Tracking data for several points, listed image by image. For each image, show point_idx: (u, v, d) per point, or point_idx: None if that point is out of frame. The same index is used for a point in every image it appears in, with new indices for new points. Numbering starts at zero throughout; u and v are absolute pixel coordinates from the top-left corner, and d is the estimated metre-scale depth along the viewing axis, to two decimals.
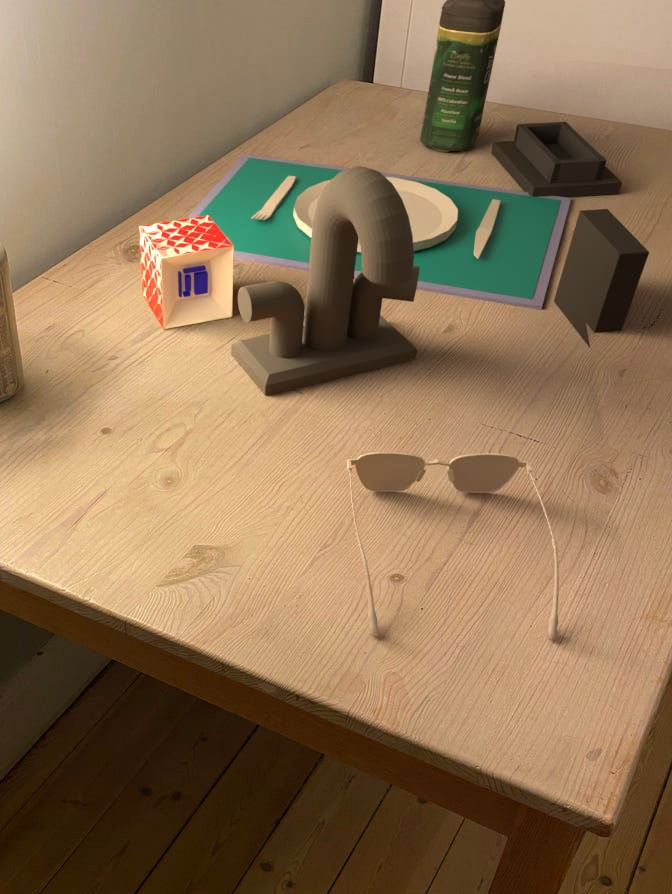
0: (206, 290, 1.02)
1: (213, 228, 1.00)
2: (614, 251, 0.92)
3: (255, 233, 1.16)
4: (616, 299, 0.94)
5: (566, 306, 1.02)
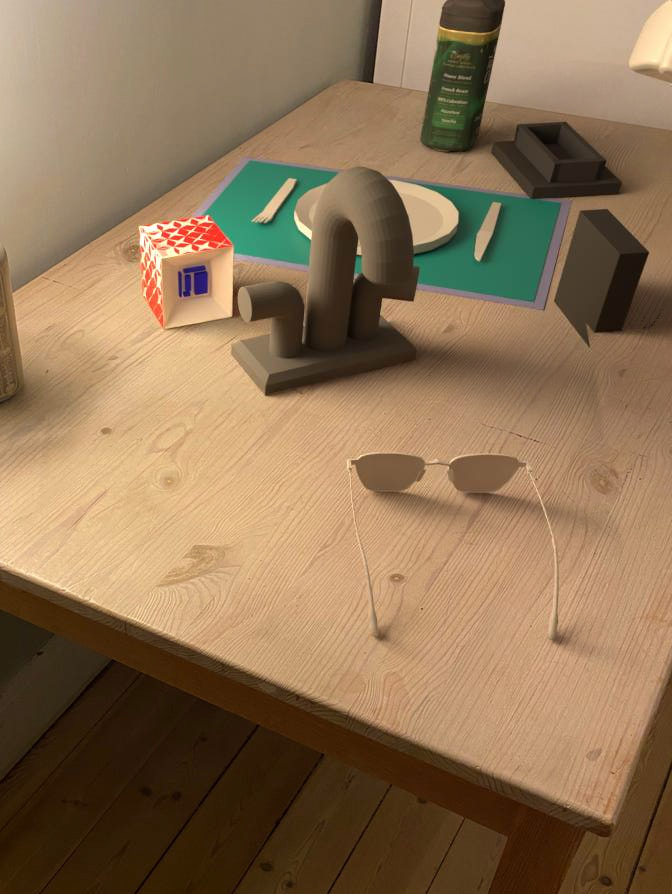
0: (206, 290, 1.02)
1: (213, 228, 1.00)
2: (614, 251, 0.92)
3: (256, 236, 1.16)
4: (616, 299, 0.94)
5: (566, 306, 1.02)
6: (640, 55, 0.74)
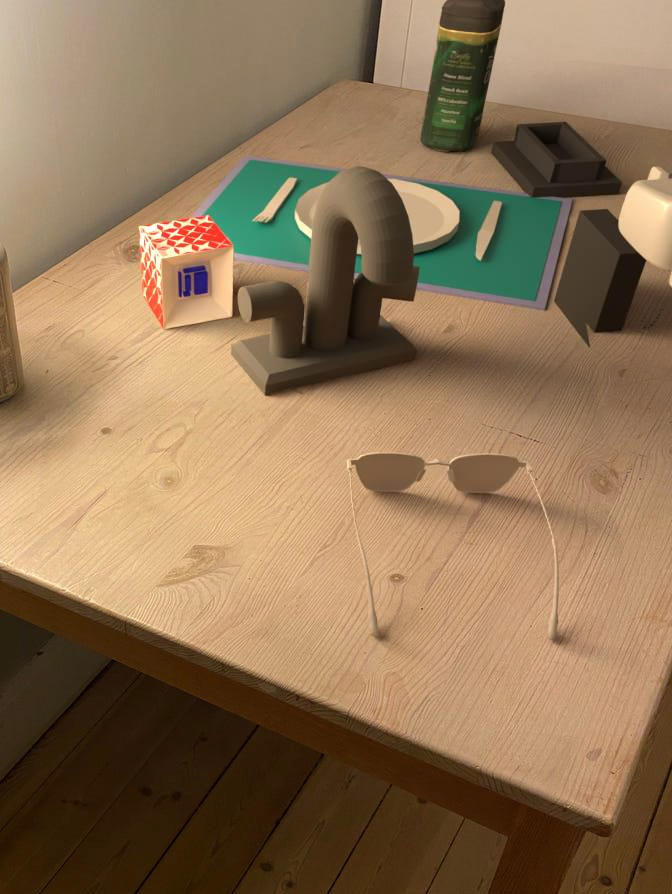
0: (206, 290, 1.02)
1: (213, 228, 1.00)
2: (614, 251, 0.92)
3: (257, 235, 1.16)
4: (616, 299, 0.94)
5: (566, 306, 1.02)
6: (638, 245, 0.73)
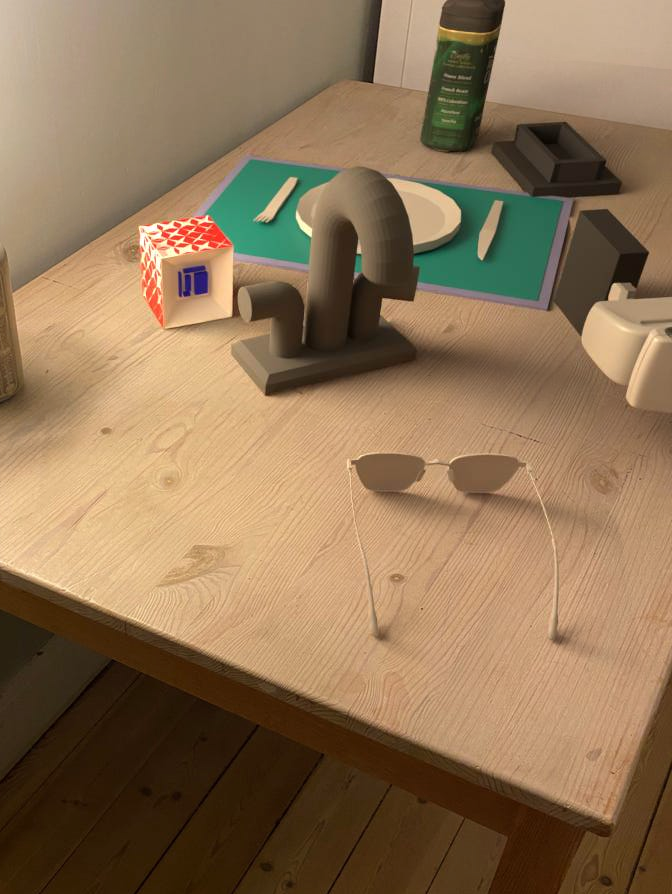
0: (206, 290, 1.02)
1: (213, 228, 1.00)
2: (614, 251, 0.92)
3: (258, 235, 1.16)
4: None
5: (566, 306, 1.02)
6: (599, 361, 0.80)
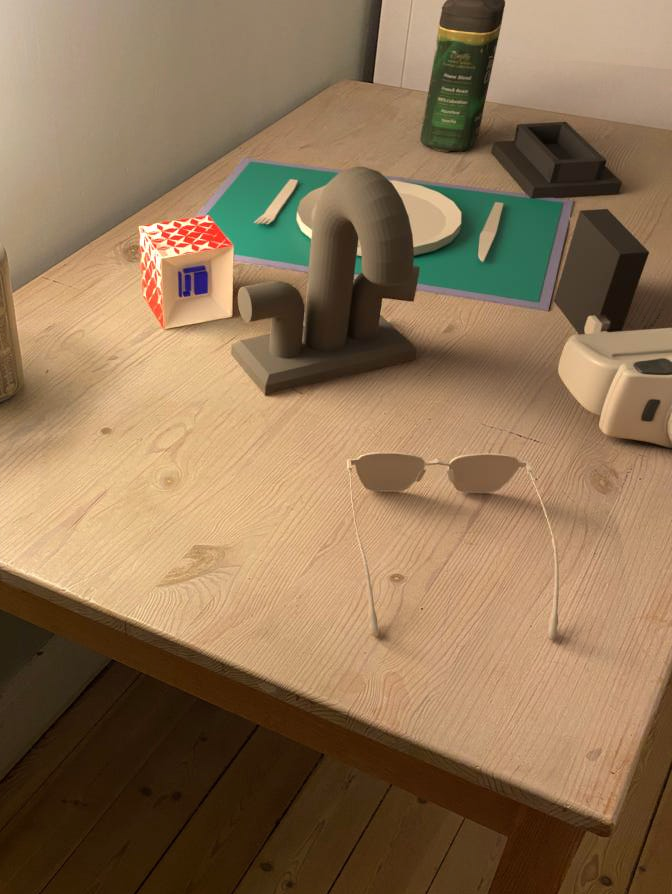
0: (206, 290, 1.02)
1: (213, 228, 1.00)
2: (614, 251, 0.92)
3: (259, 237, 1.16)
4: (616, 299, 0.94)
5: (566, 306, 1.02)
6: (574, 391, 0.86)
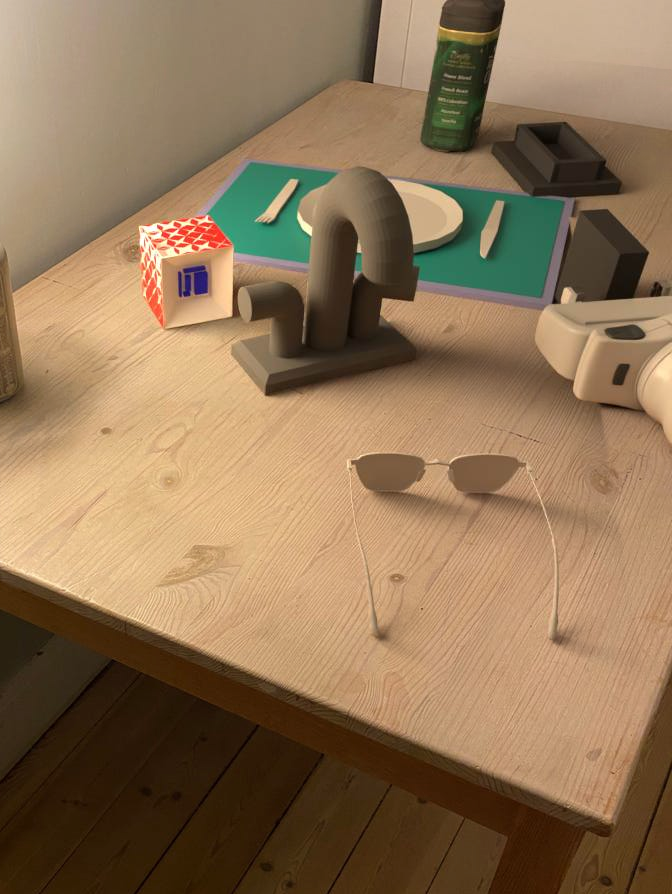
0: (206, 290, 1.02)
1: (213, 228, 1.00)
2: (614, 251, 0.92)
3: (260, 236, 1.16)
4: (616, 299, 0.94)
5: None
6: (549, 358, 0.90)
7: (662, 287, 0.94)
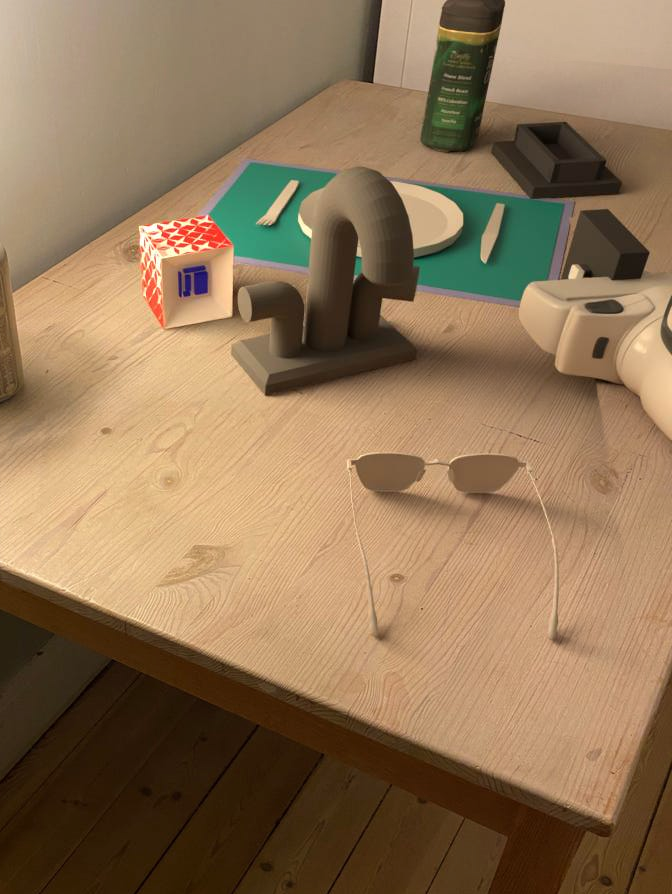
0: (206, 290, 1.02)
1: (213, 228, 1.00)
2: (615, 251, 0.92)
3: (260, 239, 1.16)
4: None
5: None
6: (532, 333, 0.93)
7: None
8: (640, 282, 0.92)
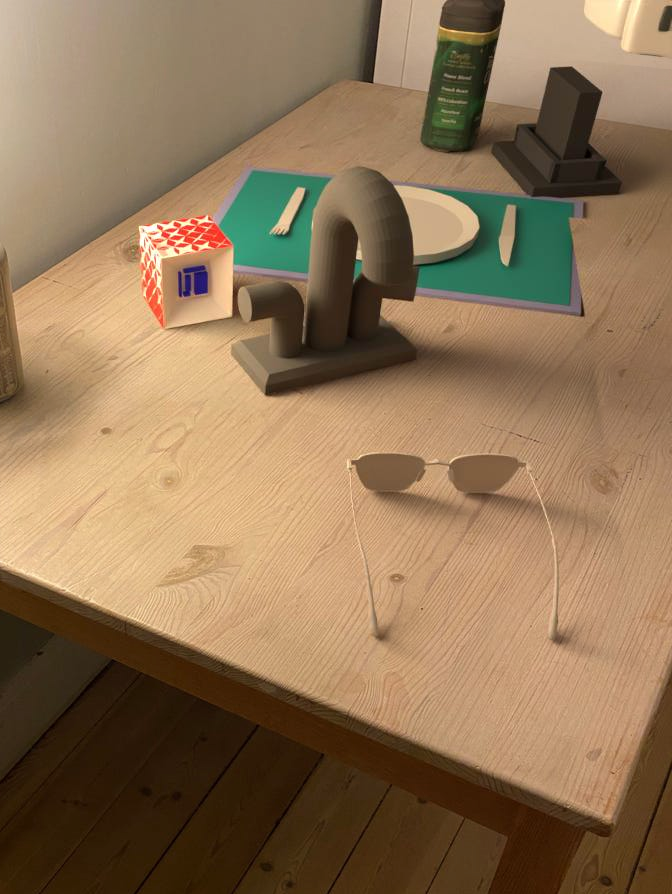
0: (206, 290, 1.02)
1: (213, 228, 1.00)
2: (576, 91, 1.18)
3: (276, 248, 1.13)
4: (578, 133, 1.21)
5: None
6: (598, 21, 0.97)
7: None
8: None
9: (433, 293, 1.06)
